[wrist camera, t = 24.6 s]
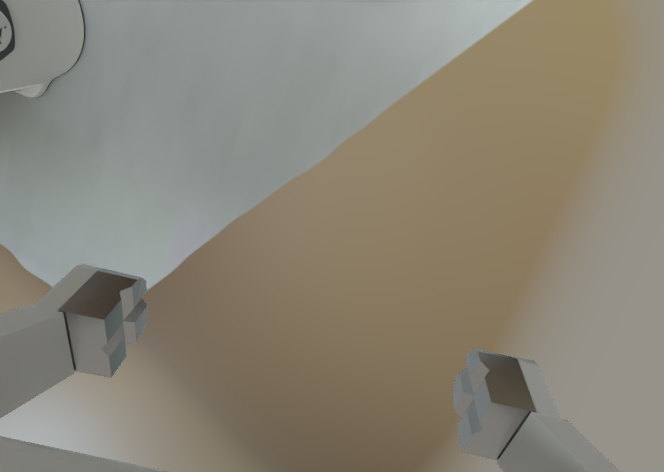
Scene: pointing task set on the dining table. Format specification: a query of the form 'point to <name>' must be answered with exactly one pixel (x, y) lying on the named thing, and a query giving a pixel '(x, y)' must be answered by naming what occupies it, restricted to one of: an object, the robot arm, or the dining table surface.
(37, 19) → the robot arm
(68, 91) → the dining table surface
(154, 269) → the dining table surface
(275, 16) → the dining table surface
